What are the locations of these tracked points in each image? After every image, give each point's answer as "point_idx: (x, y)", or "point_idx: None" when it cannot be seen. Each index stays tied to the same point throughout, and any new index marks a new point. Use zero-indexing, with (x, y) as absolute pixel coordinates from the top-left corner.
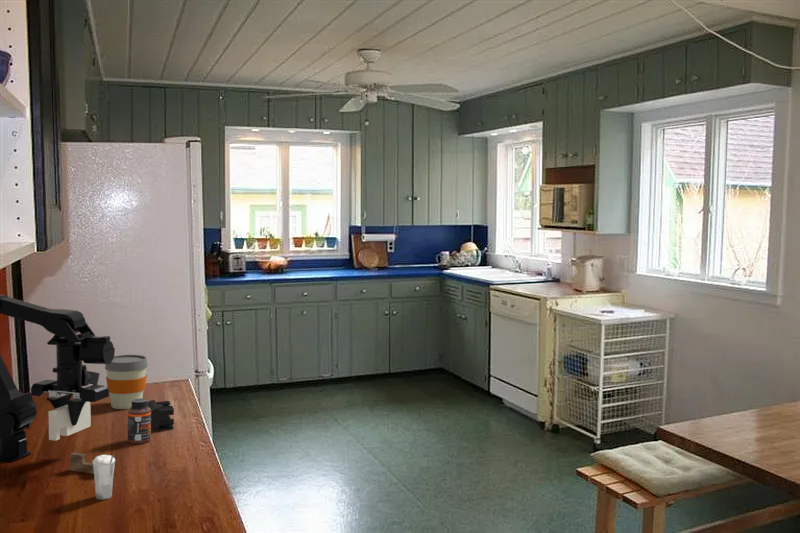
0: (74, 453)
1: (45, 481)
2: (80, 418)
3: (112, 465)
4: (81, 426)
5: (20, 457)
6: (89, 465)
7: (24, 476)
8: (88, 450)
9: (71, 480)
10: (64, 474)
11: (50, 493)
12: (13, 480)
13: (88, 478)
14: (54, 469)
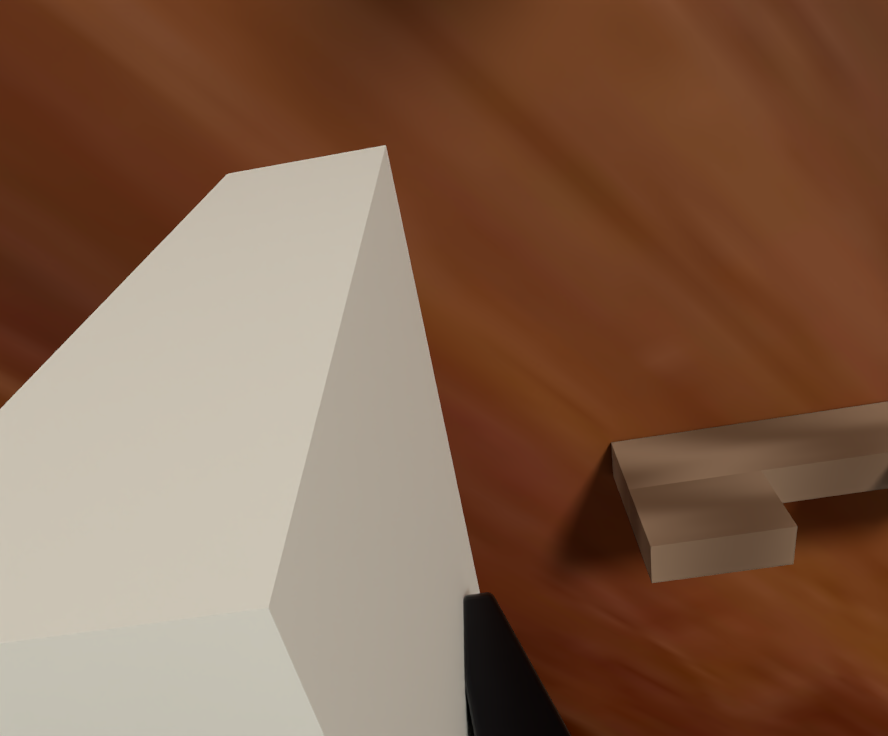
0: (678, 559)
1: (609, 644)
2: (438, 541)
3: None
4: (431, 407)
5: None
6: (837, 490)
7: None
8: (303, 16)
9: (762, 573)
10: (631, 535)
11: (777, 713)
12: None
13: (861, 508)
14: (479, 512)
